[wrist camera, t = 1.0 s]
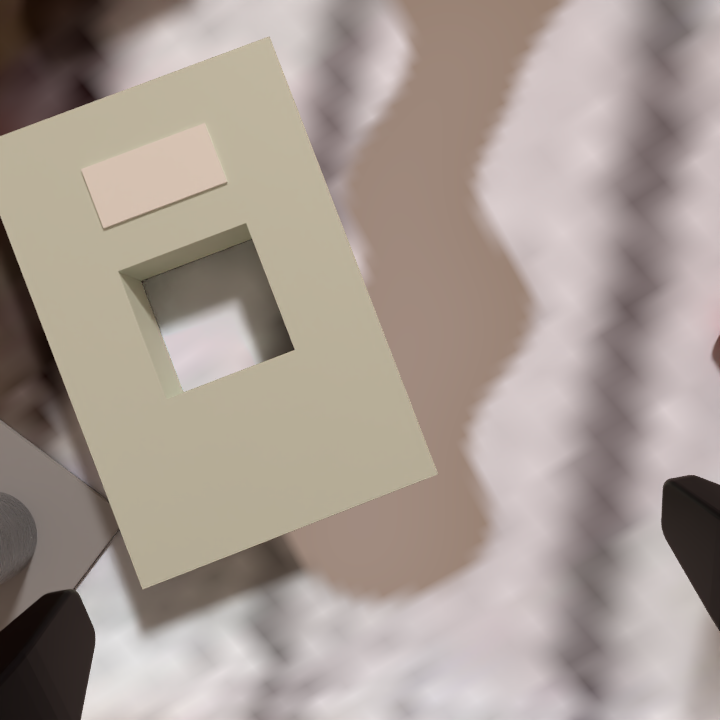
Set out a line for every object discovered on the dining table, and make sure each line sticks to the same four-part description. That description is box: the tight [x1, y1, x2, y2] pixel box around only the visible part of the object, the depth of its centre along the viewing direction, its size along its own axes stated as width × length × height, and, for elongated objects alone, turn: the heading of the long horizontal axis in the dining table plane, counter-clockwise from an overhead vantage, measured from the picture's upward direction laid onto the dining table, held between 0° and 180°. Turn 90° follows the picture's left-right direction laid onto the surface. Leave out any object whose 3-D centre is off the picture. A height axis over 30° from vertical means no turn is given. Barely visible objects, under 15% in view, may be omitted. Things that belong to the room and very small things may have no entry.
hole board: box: [0, 37, 438, 590], centre depth 24 cm, size 18×12×3 cm, turn 21°
